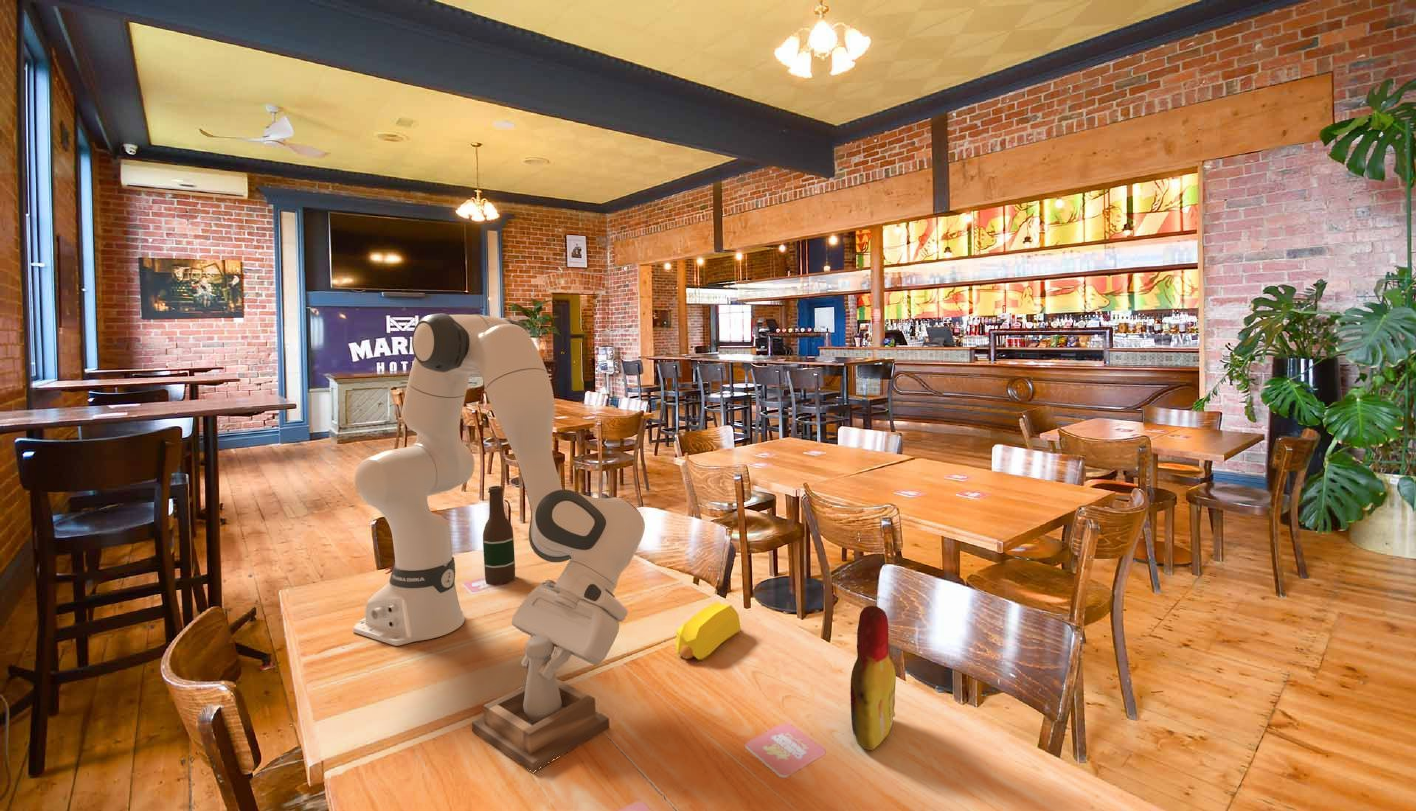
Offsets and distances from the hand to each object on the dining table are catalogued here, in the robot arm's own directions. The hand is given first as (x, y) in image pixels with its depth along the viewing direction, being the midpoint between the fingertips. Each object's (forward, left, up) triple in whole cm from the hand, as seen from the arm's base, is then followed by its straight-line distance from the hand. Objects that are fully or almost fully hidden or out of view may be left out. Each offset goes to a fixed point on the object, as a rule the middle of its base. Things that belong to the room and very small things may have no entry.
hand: (534, 672), depth 102 cm
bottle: (+49, +14, -10) cm, 52 cm away
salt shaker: (0, +1, -8) cm, 8 cm away
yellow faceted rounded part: (+16, +35, -10) cm, 40 cm away
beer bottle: (-46, +55, -10) cm, 72 cm away
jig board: (0, +1, -9) cm, 9 cm away
